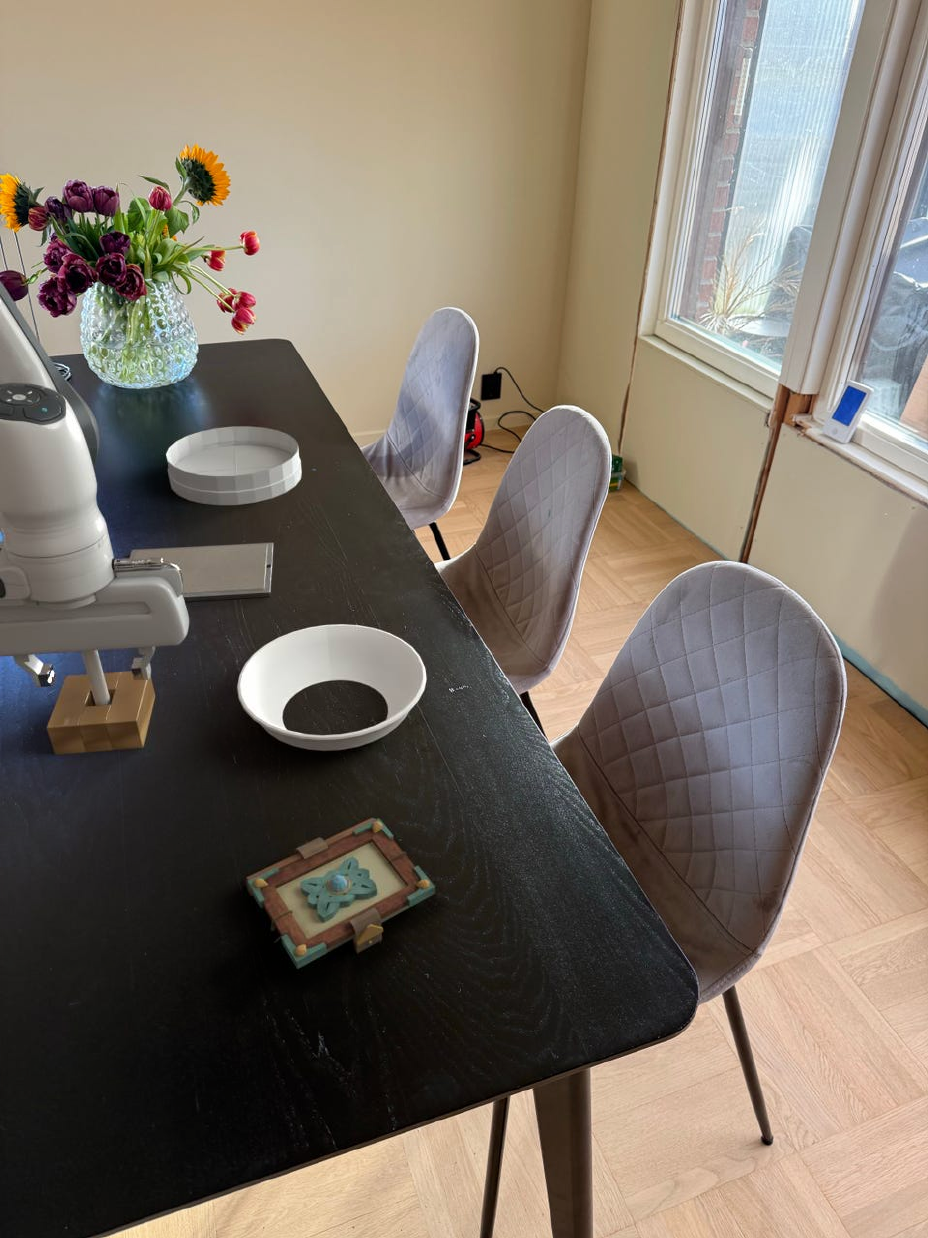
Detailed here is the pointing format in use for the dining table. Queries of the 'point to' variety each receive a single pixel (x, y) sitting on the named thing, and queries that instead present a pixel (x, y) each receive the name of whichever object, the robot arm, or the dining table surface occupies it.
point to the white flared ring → (331, 678)
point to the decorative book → (338, 891)
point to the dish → (234, 465)
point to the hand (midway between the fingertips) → (94, 680)
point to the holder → (101, 715)
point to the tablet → (219, 570)
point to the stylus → (96, 677)
